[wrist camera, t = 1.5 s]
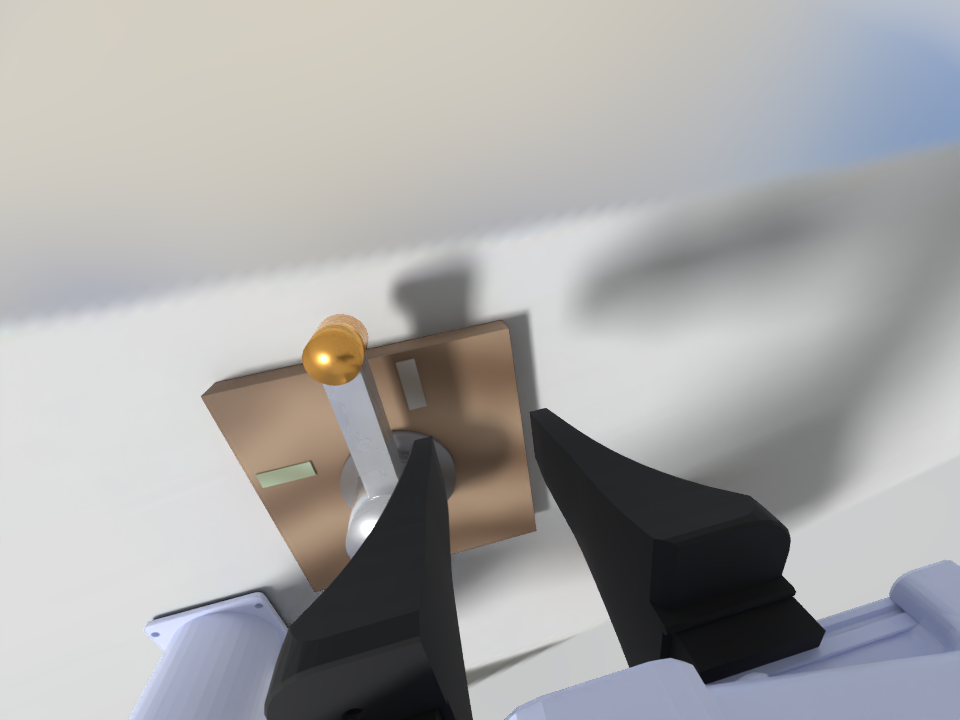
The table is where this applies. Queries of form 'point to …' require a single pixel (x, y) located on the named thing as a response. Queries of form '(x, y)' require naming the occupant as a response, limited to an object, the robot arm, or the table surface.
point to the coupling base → (411, 415)
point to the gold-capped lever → (356, 418)
